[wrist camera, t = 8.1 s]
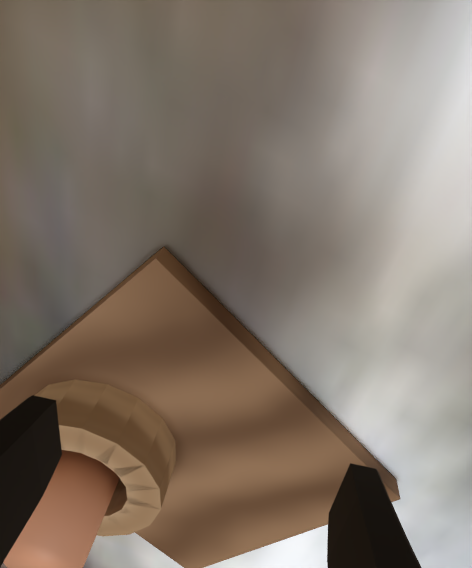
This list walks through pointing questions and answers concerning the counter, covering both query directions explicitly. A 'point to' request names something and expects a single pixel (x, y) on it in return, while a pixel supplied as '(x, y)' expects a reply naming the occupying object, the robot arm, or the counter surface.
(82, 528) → the peg
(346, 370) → the counter surface
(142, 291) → the board
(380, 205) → the counter surface
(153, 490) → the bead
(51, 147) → the counter surface
